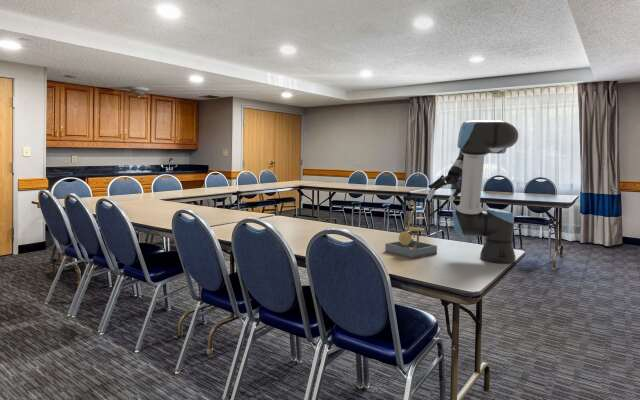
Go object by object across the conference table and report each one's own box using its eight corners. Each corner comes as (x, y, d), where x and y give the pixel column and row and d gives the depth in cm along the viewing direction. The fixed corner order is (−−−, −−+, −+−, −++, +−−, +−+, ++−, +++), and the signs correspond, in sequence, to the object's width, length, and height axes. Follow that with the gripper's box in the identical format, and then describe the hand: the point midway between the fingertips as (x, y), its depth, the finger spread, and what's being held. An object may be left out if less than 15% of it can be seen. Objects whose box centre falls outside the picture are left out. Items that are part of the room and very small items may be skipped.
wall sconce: (412, 254, 202) (415, 202, 199) (395, 251, 208) (397, 200, 205) (427, 249, 212) (429, 200, 209) (410, 246, 218) (412, 198, 215)
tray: (436, 253, 208) (437, 245, 208) (412, 258, 198) (412, 250, 197) (409, 247, 222) (409, 239, 222) (385, 251, 212) (385, 243, 211)
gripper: (481, 176, 218) (462, 207, 210) (441, 174, 237) (422, 202, 230) (476, 166, 214) (456, 197, 206) (435, 165, 234) (416, 193, 226)
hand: (438, 200), depth 218 cm, fingers open, 13 cm apart
